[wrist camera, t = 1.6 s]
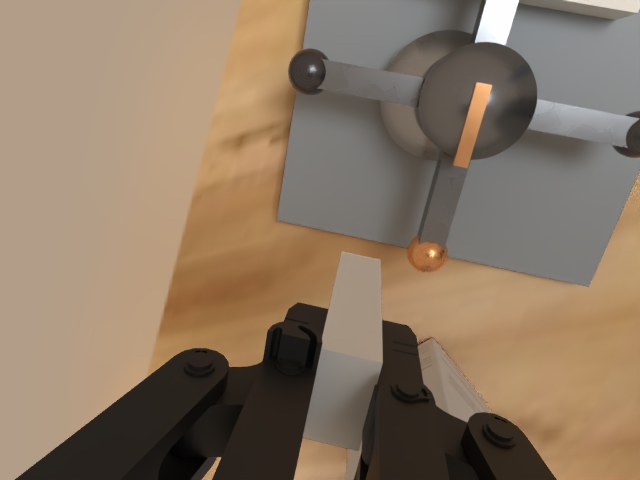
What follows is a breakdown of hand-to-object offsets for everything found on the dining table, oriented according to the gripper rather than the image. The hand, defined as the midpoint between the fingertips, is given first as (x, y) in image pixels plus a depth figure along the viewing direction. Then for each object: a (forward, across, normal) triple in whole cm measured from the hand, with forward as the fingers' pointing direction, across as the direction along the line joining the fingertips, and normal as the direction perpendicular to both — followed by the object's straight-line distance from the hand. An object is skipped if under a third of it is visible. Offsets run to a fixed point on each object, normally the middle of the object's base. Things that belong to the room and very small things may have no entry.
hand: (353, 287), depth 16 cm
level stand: (+18, +6, +6) cm, 20 cm away
